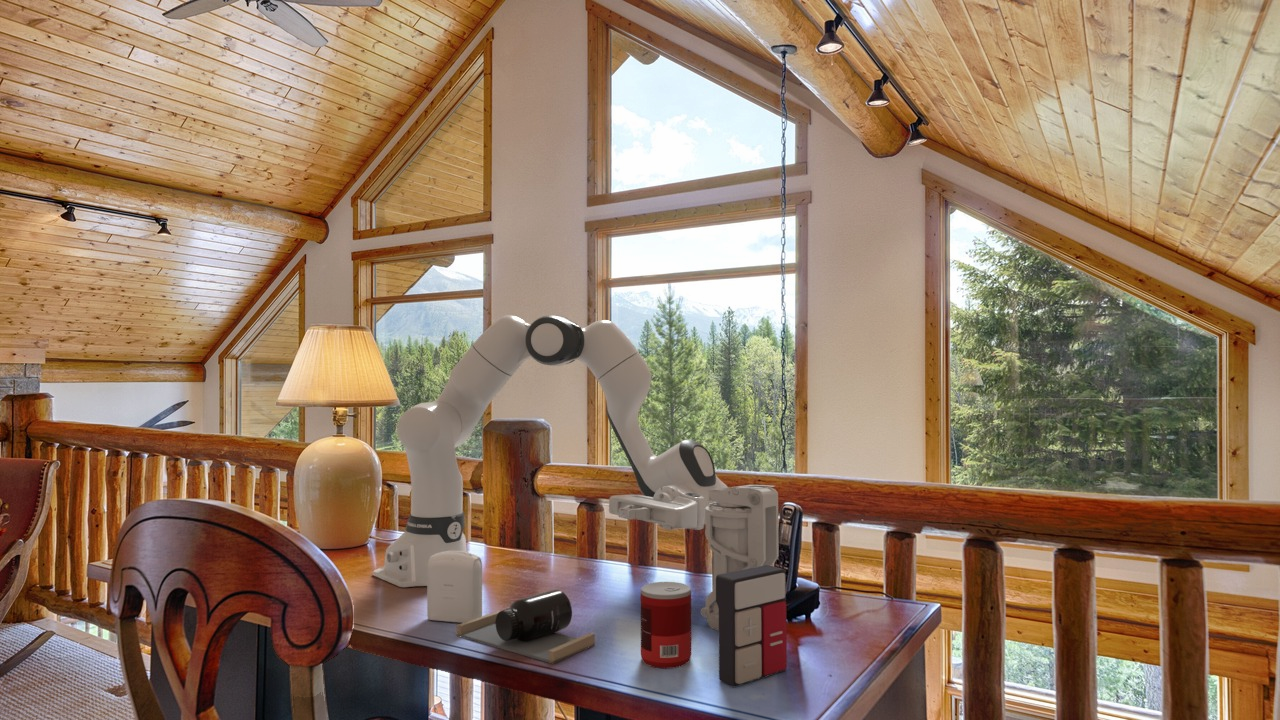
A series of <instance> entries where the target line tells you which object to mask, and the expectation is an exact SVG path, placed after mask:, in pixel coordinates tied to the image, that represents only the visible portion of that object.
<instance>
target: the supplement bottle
mask: <svg viewBox="0 0 1280 720" xmlns="http://www.w3.org/2000/svg"><path fill="white" fill-rule="evenodd" d="M499 611H500V610H499ZM572 618H573V609H572V603H571V601H570V598H569V597H568V595H567V594H566V593H565V592H564V591H562V590H561V589H550V590H547V591H544V592H541V593H536V594H534V595H530V596H526V597H523V598H519V599H516V600H515V601H513V603H512V604H511V605H510V607H508V608H506V609H503V610H501V611H500V612H499V613H498V614H497V616H496V620H495V621H496V622H495V624H496V630H497V633H498V635H499V637H500V638H501V639H502V640H504V641H509V640H512V639H516V638H517V639H518V640H520V641H524V642H525V641H530V640H533V639H536V638H539V637H542V636H545V635H548V634H551V633H554V632H555V633H558V632H559V631H562V630H565V629H566V628H568V627H569V626H570V623H571V622H572Z"/></svg>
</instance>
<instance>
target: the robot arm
mask: <svg viewBox="0 0 1280 720" xmlns="http://www.w3.org/2000/svg"><path fill="white" fill-rule="evenodd" d="M530 358H531V359H533V360H535V361H536V362H538V363H539V364H541V365H545V366H550V367H551V366H552V367H559V366H561V367H562V366H564V365H568V364H571V363H573V362H575V361H580V362H581V363H583V364H584V365H586V366H587V368H588V369H589V370H590V372H591V373H592V375H593V376H594V377H595V379H596V381H597V382H598V383H599V386H600V388H601V389H602V393H603V394H604V397H605V401H606V409H605V411H606V416H607V419H608V421H609V424H610V427H611V429H612V431H613V433H614V435H615V436H616V439H617V440H618V443H619V445H620V447H621V449H622V450H623V451H622V452H624V455H625V457H626V458H627V462H629V465H630V466H631V468H632V471H633V473H634V477H635V479H636V482H637V485H638V488H639V491H640V492H641V494H619V495H618V494H617V495H611V496H610V497H609V500H608V512H609V514H611V515H616V516H618V517H619V518H621V519H625V520H639V521H643V522H648V523H652V524H657V525H658V526H659V527H661V528H662V529H664V530H667V531H671V530H681V529H686V530H695V531H698V530H699V531H700V530H702V529H704V526H705V507H707V506H708V504H709V503H710V502H713V501H709V491H711V490H719V489H723V488H728V489H729V488H730V487H728V485H727V484H725V483H724V481H722V480H721V479H720V478H719V477H718V476H717V474H716V469H715V463H714V460H713V457H712V455H711V453H710V451H709V450H708V448H706V447H705V446H704V445H703V444H701V443H700V442H698V441H696V440H693V439H687V438H686V439H684V440H682V441H680V442H678V443H676V444H675V445H673V446H672V447H669V448H668V449H667V450H666V451H664V452H662V453H661V454H659V455H656V454H654V452H653V451H652V448H651V447H650V444H649V443H648V440H647V439H646V437H645V434H644V433H643V430H642V429H641V426H640V424H639V412H640V409H641V407H642V405H643V403H644V402H645V400H646V398H647V396H648V394H649V391H650V389H651V385H652V373H651V370H650V367H649V366H648V363H646V360H645V359H644V358H643V357H642V355H641V354H640V352H639V350H638V349H637V348H636V346H635V345H634V344H633V342H632V341H631V340H630V339H629V338H628V336H627V335H626V334H625V333H624V332H623V330H621V328H619V327H618V326H617V325H616V324H615V323H614V322H613V321H610V320H608V319H603V320H602V319H601V320H596V321H593V322H592V323H590V324H588V325H587V326H585V327H581V326H580V325H578V324H577V323H576V322H574V321H573V320H572V319H570V318H568V317H566V316H562V315H554V314H553V315H551V314H550V315H549V314H548V315H544V316H540V317H539V318H536V319H535V320H533V322H532V323H531V324H530V323H528V322H526V320H524V319H522V318H520V317H519V316H516V315H511V314H507V315H503V316H501V317H499V318H498V319H497V320H495V322H493V323H492V324H491V325H490V326H489V327H487V329H486V330H485V331H483V333H482V334H481V335H480V336H478V338H477V339H476V340H475V341H474V343H473V344H472V345H471V346H470V348H469V349H468V350H467V351H466V352H465V353H464V354H463V356H462V357H461V359H460V360H459V361H458V362H457V363H456V364H455V366H453V368H452V369H451V371H450V372H449V378H448V381H447V382H446V383H445V386H444V388H443V389H442V392H441V393H440V395H439V396H438V397H437V398H436V399H435V400H434V401H432V402H431V401H429V402H427V401H426V402H421V403H418V404H415V405H413V406H412V407H410V408H408V410H406V411H405V412H403V414H402V415H401V416H400V418H399V419H398V422H397V425H396V426H397V428H396V433H397V437H398V439H399V441H400V443H401V444H402V446H403V448H404V450H405V451H404V452H405V456H406V458H407V464H408V469H409V475H410V485H411V486H410V488H411V489H410V493H411V495H410V498H411V500H410V502H411V503H410V504H411V505H410V508H411V509H410V514H409V516H408V515H407V516H404V517H403V519H405V520H403V521H402V522H403V523H406V525H405V529H404V530H405V531H404V532H403V533H402V534H401V535H400V536H399V537H398V538H396V540H394V541H393V542H392V543H391V544H390V545H389V546H388V547H387V548H386V551H385V556H384V566H381V567H379V568H376V569H374V570H373V572H372V573H373V574H372V575H373V576H374V577H375V578H378V579H380V580H383V581H386V582H387V583H390V584H392V585H395V586H397V587H399V588H410V587H427V566H428V561H429V559H430V557H431V556H432V555H434V554H437V553H440V552H444V551H463V552H468V550H467V539H466V535H465V534H464V529H465V525H466V523H465V522H466V518H465V512H464V511H463V507H464V506H463V505H464V504H463V501H464V499H463V497H464V495H463V494H464V491H463V490H464V489H463V488H464V485H463V483H464V482H463V481H464V478H463V475H462V473H461V472H460V468H459V465H458V460H457V455H456V448H458V447H459V446H461V445H462V444H464V443H466V441H467V440H468V439H469V438H470V437H471V435H472V434H473V432H474V430H475V428H476V426H477V425H478V423H479V422H480V420H481V419H482V418H483V415H484V413H485V412H486V410H487V408H488V407H489V406H490V404H491V403H492V401H493V400H494V399H495V397H496V396H497V394H498V393H500V391H501V390H502V389H503V387H504V386H505V385H506V384H507V383H508V381H509V380H510V379H511V378H512V376H513V375H514V374H515V372H517V370H519V368H520V367H521V366H522V365H523V364H524V363H525V362H526V361H527V360H529V359H530ZM718 503H719V502H718Z"/></svg>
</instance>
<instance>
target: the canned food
mask: <svg viewBox="0 0 1280 720" xmlns="http://www.w3.org/2000/svg"><path fill="white" fill-rule="evenodd" d="M640 656H641V661H642V662H643V663H644V664H646V665H647V666H649V665H650V667H653V668H656V667H658V668H659V669H674V668H675V669H676V668H679V666H680V667H682V665H683V666H685V665H687V663H689V662H690V659H691V656H692V588H691V586H689V585H688V584H685V583H682V582H676V581H657V582H656V581H655V582H651V583H647V584H645V585H643V586H641V588H640ZM658 668H657V669H658Z"/></svg>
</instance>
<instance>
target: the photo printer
mask: <svg viewBox="0 0 1280 720" xmlns="http://www.w3.org/2000/svg"><path fill="white" fill-rule="evenodd" d="M426 587H427V588H426V597H427V599H426V600H427V602H426V604H427V606H426V610H427V615H426V616H427V619H428V620H429V621H439V622H452V623H460V624H461V623H464V622H467V621H470V620H473V619H476V618H479V617H482V616H483V562H482V559H481V557H479V556H478V555H476V554H474V553H471V552H468V551H467V552H463V551H444V552H440V553H437V554H434V555H432V556H431V557H430V559H429V561H428V566H427V586H426Z"/></svg>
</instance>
